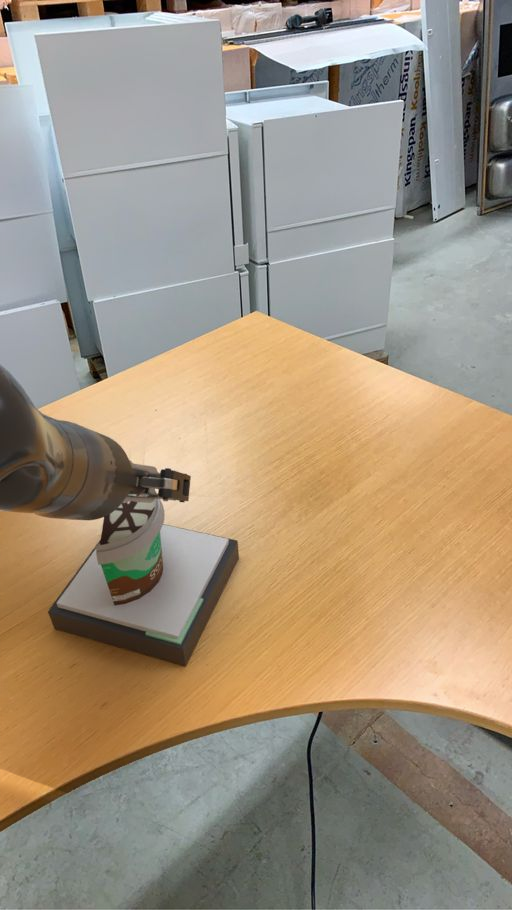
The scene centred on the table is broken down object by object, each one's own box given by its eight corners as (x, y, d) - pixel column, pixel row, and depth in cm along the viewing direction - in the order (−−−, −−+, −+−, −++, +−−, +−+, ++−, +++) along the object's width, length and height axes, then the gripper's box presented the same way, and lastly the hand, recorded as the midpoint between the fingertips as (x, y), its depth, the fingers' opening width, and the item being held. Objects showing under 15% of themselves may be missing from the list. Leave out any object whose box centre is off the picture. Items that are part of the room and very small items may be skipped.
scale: (53, 628, 72) (45, 606, 70) (122, 530, 84) (117, 509, 82) (185, 666, 68) (181, 644, 65) (239, 557, 80) (237, 535, 77)
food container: (171, 612, 69) (158, 545, 62) (112, 616, 68) (94, 550, 62) (175, 529, 78) (165, 465, 72) (124, 533, 78) (109, 468, 72)
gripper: (160, 430, 51) (204, 455, 67) (-9, 419, 53) (73, 446, 69) (150, 526, 50) (197, 528, 66) (-21, 511, 53) (65, 517, 68)
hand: (134, 486), depth 68 cm, fingers open, 8 cm apart
